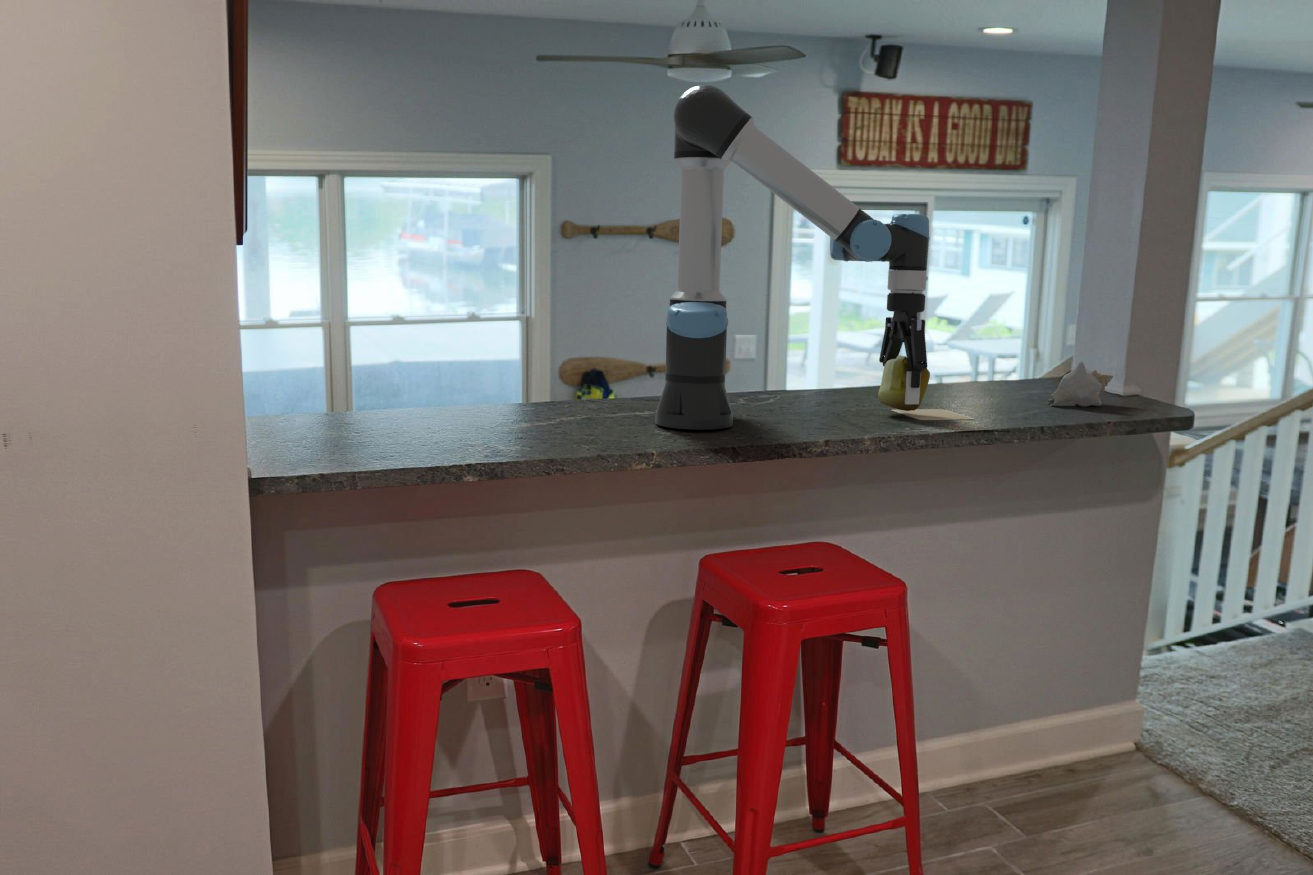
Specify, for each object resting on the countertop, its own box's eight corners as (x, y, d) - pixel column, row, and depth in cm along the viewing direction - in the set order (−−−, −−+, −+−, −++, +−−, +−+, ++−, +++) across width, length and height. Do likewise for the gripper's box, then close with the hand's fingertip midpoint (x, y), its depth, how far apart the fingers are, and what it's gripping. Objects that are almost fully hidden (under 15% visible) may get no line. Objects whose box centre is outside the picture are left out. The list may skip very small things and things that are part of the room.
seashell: (1062, 426, 253) (1101, 373, 253) (1092, 435, 243) (1132, 380, 243) (1031, 397, 248) (1070, 344, 249) (1060, 405, 239) (1100, 349, 239)
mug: (880, 406, 233) (901, 364, 233) (921, 422, 226) (943, 379, 226) (855, 387, 223) (877, 343, 223) (897, 403, 217) (920, 358, 217)
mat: (920, 420, 221) (920, 418, 221) (891, 410, 234) (891, 409, 234) (975, 419, 223) (975, 418, 223) (943, 410, 237) (943, 409, 237)
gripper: (950, 293, 213) (942, 407, 216) (900, 291, 235) (894, 395, 238) (913, 292, 211) (906, 407, 214) (866, 291, 233) (861, 395, 236)
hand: (900, 401), depth 226 cm, fingers closed on mug, 11 cm apart
